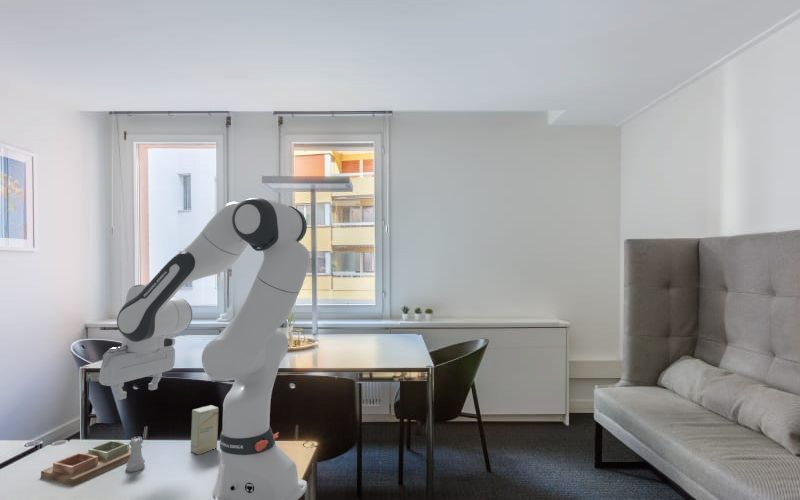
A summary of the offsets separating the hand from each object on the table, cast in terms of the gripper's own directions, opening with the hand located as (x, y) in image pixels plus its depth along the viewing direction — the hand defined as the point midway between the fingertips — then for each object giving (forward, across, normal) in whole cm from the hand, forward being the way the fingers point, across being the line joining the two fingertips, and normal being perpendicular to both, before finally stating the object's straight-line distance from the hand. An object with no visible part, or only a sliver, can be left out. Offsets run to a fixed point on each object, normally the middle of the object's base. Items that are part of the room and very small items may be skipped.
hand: (137, 394), depth 117 cm
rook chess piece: (+20, 0, -1) cm, 20 cm away
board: (+20, -3, +11) cm, 23 cm away
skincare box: (+20, +16, -9) cm, 27 cm away
